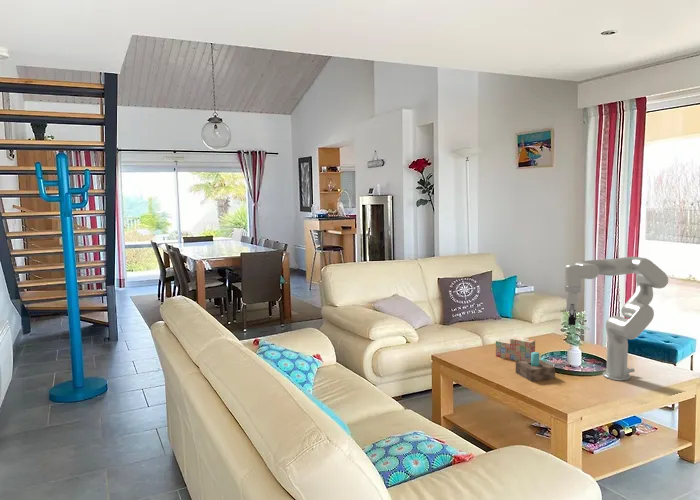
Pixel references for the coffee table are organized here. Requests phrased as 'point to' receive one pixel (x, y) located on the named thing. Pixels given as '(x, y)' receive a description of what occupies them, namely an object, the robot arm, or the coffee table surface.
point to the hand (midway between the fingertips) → (572, 322)
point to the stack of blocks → (515, 348)
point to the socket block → (535, 370)
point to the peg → (534, 359)
